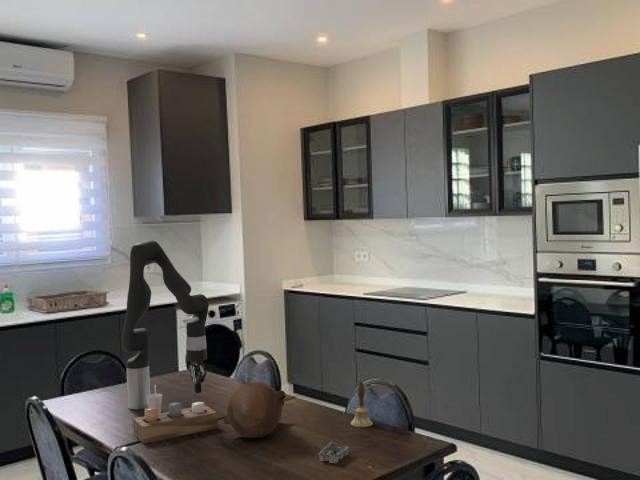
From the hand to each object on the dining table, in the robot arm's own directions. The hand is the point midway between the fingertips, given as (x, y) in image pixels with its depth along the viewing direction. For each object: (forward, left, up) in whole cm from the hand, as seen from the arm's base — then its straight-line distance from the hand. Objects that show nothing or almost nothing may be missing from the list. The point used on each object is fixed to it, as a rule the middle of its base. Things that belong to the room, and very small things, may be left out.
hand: (198, 392), depth 242 cm
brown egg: (0, -18, -9) cm, 20 cm away
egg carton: (+57, +24, -13) cm, 64 cm away
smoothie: (-19, -11, -13) cm, 26 cm away
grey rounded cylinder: (0, -9, -9) cm, 13 cm away
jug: (+20, +16, -13) cm, 29 cm away
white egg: (0, 0, -10) cm, 10 cm away
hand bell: (+35, +51, -13) cm, 63 cm away
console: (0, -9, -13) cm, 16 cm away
